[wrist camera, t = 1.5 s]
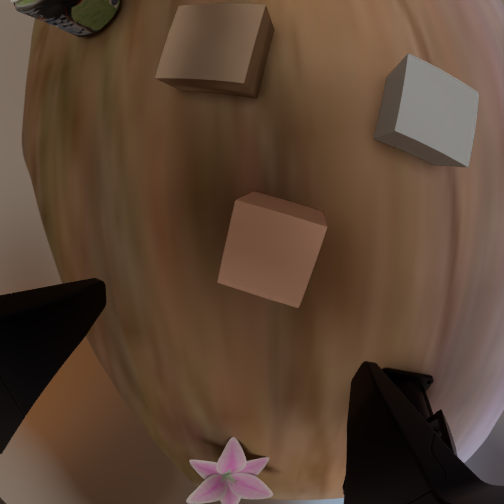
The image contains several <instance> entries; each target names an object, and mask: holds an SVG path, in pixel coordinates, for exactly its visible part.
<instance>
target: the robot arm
mask: <svg viewBox="0 0 504 504" xmlns="http://www.w3.org/2000/svg"><path fill="white" fill-rule="evenodd" d="M105 306H106V287H105V283H104V282H103V281H101V280H99V279H97V278H92V279H86V280H81V281H75V282H70V283H64V284H59V285H53V286H48V287H43V288H37V289H32V290H26V291H21V292H16V293H12V294H5V295H0V454H2V453H3V451H4V449H5V448H6V446H7V444H8V443H9V441H10V440H11V437H12V436H13V435H14V433H15V432H16V430H17V428H18V427H19V425H20V424H21V422H22V421H23V419H24V418H25V416H26V415H27V413H28V412H29V410H30V409H31V407H32V406H33V404H34V403H35V401H36V400H37V399H38V397H39V396H40V395H41V393H42V392H43V390H44V389H45V388H46V386H47V385H48V384H49V382H50V381H51V379H52V378H53V377H54V375H55V374H56V373H57V372H58V370H59V369H60V368H61V366H62V365H63V364H64V362H65V361H66V360H67V359H68V357H69V356H70V355H71V354H72V352H73V351H74V350H75V349H76V347H77V346H78V345H79V344H80V342H81V341H82V340H83V338H84V337H85V336H86V334H87V333H88V331H89V330H90V328H91V327H92V325H93V324H94V322H95V321H96V319H97V318H98V317H99V315H100V314H101V312H102V311H103V309H104V308H105ZM386 373H387V374H386ZM433 381H434V380H433V377H432V376H427V375H421V374H415V373H409V372H403V371H398V370H393V369H384V370H382V369H381V368H380V367H379V366H378V365H377V364H376V363H374V362H368V361H365V362H363V363H362V364H361V366H360V368H359V369H358V371H357V372H356V374H355V376H354V377H353V379H352V382H351V389H350V401H349V411H348V420H347V461H346V476H345V480H344V484H343V491H344V492H343V493H344V495H345V496H344V504H504V486H496V485H491V484H488V483H485V482H483V481H482V480H480V479H479V478H478V477H477V476H476V475H475V474H474V473H473V472H472V471H471V470H470V469H469V468H468V467H467V466H466V465H465V464H464V463H463V462H462V461H461V460H460V459H459V458H458V457H457V452H456V447H455V444H454V440H453V437H452V434H451V431H450V428H449V426H448V423H447V421H446V419H445V416H444V414H443V412H442V410H439V411H437V412H436V413H435V414H434V415H433V412H432V409H431V406H430V403H429V400H428V397H427V394H426V390H427V389H428V388H429V387H430V385H431V384H432V383H433ZM0 504H6V503H5V502H4V501H3V500H2V499H1V498H0Z"/></svg>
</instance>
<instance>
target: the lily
mask: <svg viewBox="0 0 504 504" xmlns="http://www.w3.org/2000/svg"><path fill="white" fill-rule="evenodd" d="M189 461H190V464H191V465H192V467H193V468H194V469H195V470H196V472H197V473H198V474H199V475H200V476H201V477H203V478H204V479H205V480H204V481H203V482H202V483H201V485H200V486H199V487H198V488H197V489H196V490H195V491H194V492H193V493H192V494H191V495H190V496H189V497H188V499H187V500H186V502H187V503H191V504H199V503H210V502H215V501H218V500H220V501H221V503H222V504H238V503H239V501H240V499H241V498H245V499H265V498H270V497H272V496H273V493H272V491H271V490H270V489H269V488H268V487H267V486H266V485H265V484H264V483H263V482H262V481H261V480H260V479H259V478H257V477H256V476H257V475H258V474H259V473H260V472H261V471H262V469H263V468H264V467H265V466H266V464H267V463H268V461H269V458H268V457H265V458H259V459H254V460H250V461H246V457H245V454H244V452H243V450H242V447H241V446H240V444H239V442H238V440H237V439H236V438H234V437H232V438H230V440H229V441H228V443H227V445H226V447H225V449H224V451H223V453H222V454H221V456H220V458H219V460H218V462H217V463H215V462H209V461H201V460H189Z"/></svg>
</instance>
